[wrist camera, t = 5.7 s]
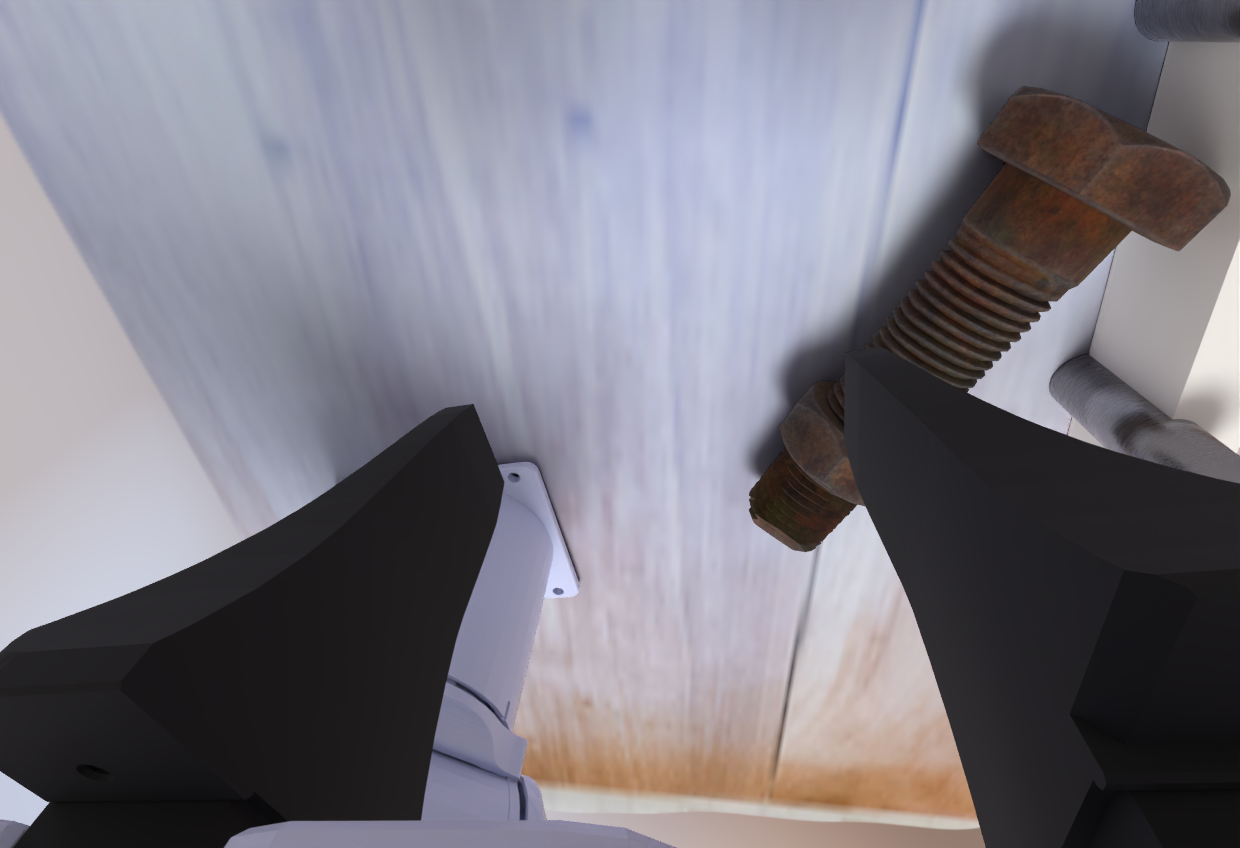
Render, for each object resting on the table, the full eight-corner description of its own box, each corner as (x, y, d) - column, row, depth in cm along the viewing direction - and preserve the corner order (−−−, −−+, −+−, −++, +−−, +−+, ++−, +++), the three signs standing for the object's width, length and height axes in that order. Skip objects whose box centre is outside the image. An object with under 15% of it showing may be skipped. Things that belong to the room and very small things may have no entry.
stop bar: (1027, 482, 23) (1126, 608, 18) (1195, -261, 12) (1562, -469, 7) (1114, 474, 22) (1240, 601, 17) (1371, -312, 11) (1903, -577, 6)
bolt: (753, 455, 25) (1023, 99, 17) (850, 531, 24) (1197, 186, 16) (695, 513, 21) (1025, 68, 12) (812, 611, 20) (1270, 187, 11)
